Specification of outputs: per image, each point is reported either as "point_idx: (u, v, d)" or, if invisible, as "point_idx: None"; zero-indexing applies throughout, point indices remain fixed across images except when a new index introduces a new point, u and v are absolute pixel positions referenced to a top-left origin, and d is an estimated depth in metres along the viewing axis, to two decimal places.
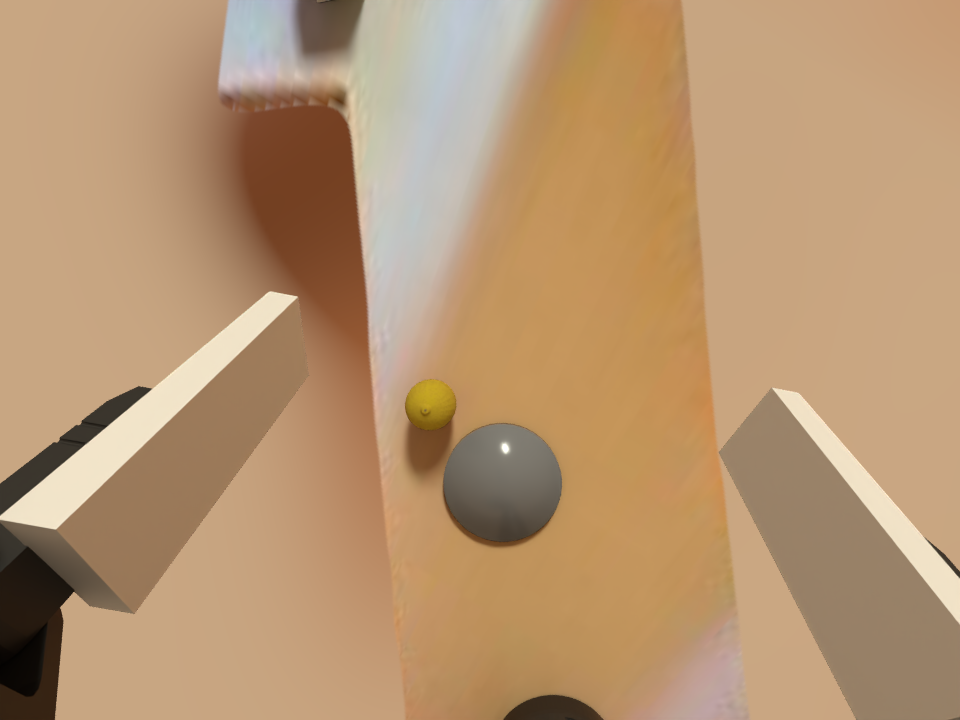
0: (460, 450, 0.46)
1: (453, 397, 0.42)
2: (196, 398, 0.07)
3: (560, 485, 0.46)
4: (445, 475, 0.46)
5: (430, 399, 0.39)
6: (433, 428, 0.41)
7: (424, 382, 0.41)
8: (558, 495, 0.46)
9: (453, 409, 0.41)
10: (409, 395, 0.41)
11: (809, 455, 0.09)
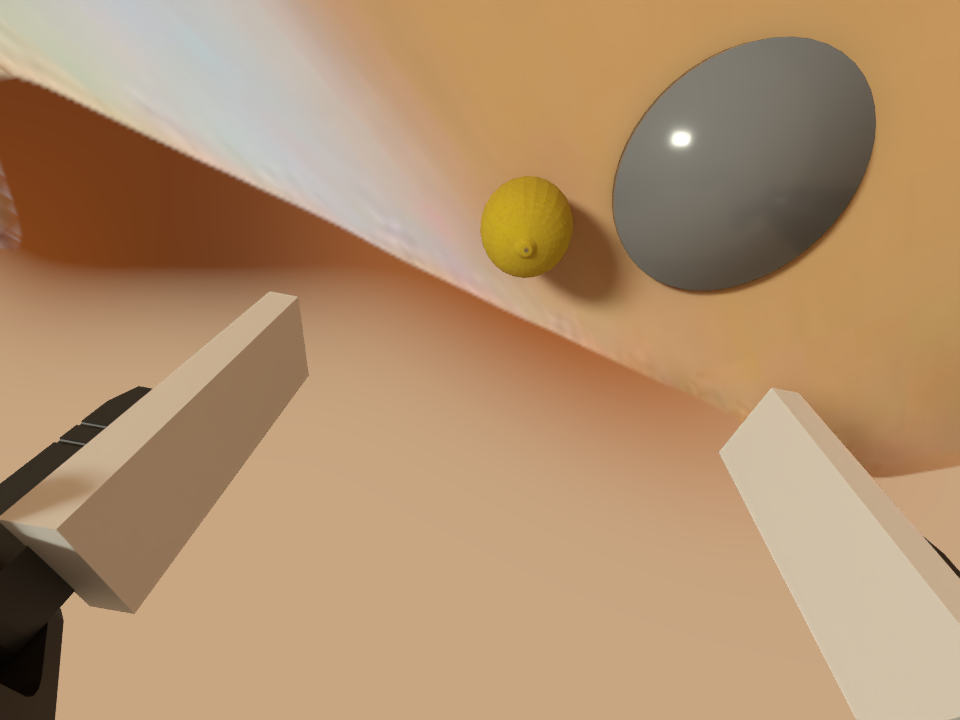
0: (627, 222, 0.25)
1: (539, 183, 0.21)
2: (196, 398, 0.07)
3: (850, 65, 0.20)
4: (642, 267, 0.27)
5: (515, 228, 0.20)
6: (564, 251, 0.22)
7: (484, 218, 0.22)
8: (861, 84, 0.20)
9: (558, 196, 0.21)
10: (489, 256, 0.23)
11: (809, 455, 0.09)
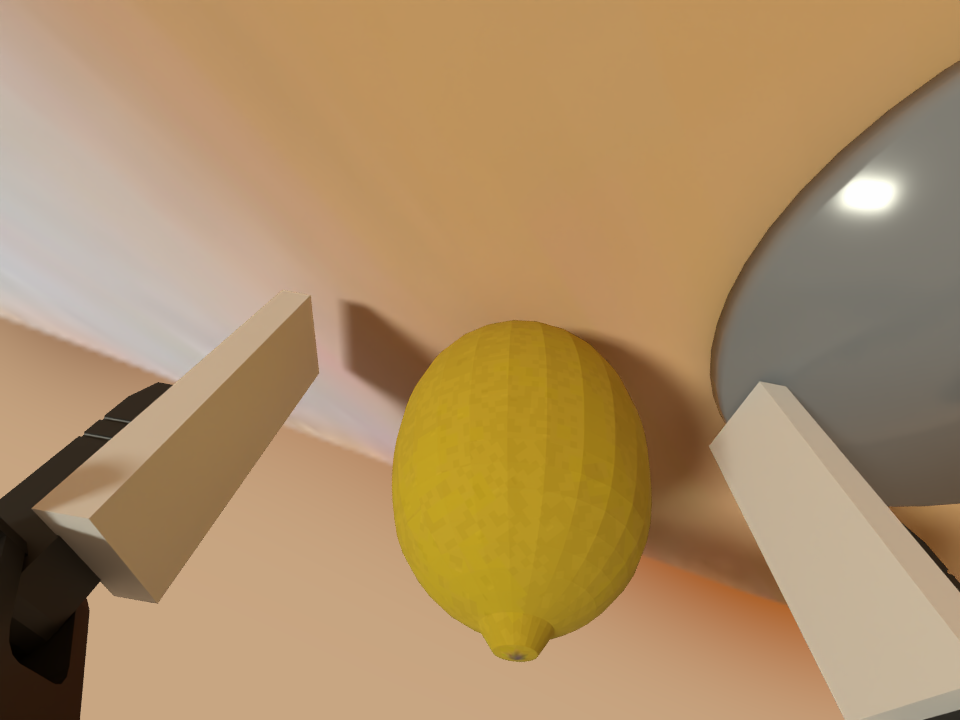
0: None
1: (555, 383, 0.07)
2: (216, 393, 0.07)
3: None
4: None
5: (477, 581, 0.06)
6: None
7: (395, 462, 0.08)
8: None
9: (617, 430, 0.07)
10: None
11: (794, 447, 0.09)
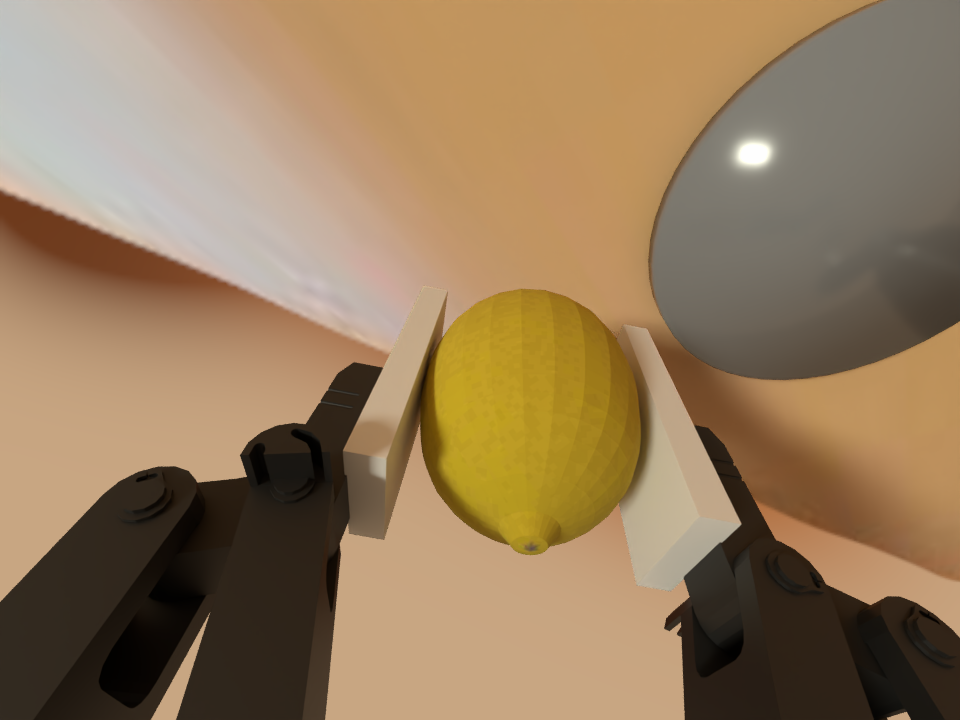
0: (673, 287, 0.16)
1: (561, 333, 0.08)
2: (418, 370, 0.09)
3: None
4: (691, 348, 0.18)
5: (499, 486, 0.07)
6: None
7: (423, 405, 0.09)
8: None
9: (612, 371, 0.08)
10: None
11: (634, 373, 0.10)
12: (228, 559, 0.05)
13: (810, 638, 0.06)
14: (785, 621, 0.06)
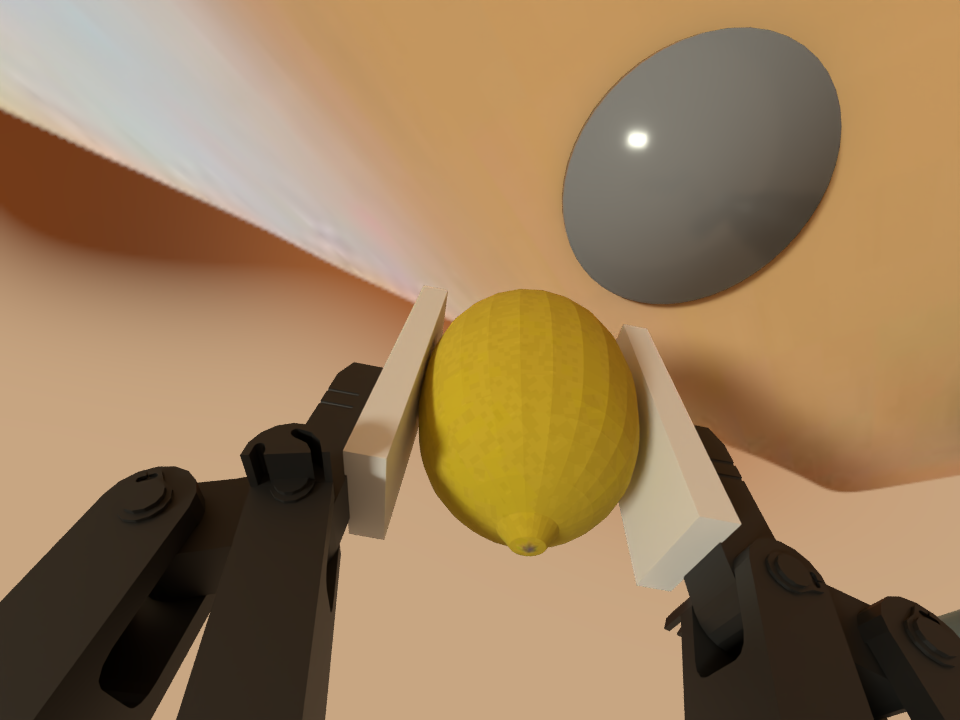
0: (577, 230, 0.23)
1: (559, 333, 0.08)
2: (418, 370, 0.09)
3: (814, 61, 0.18)
4: (596, 278, 0.25)
5: (497, 487, 0.07)
6: None
7: (422, 405, 0.09)
8: (825, 83, 0.18)
9: (610, 372, 0.08)
10: None
11: (634, 373, 0.10)
12: (228, 559, 0.05)
13: (810, 638, 0.06)
14: (785, 621, 0.06)
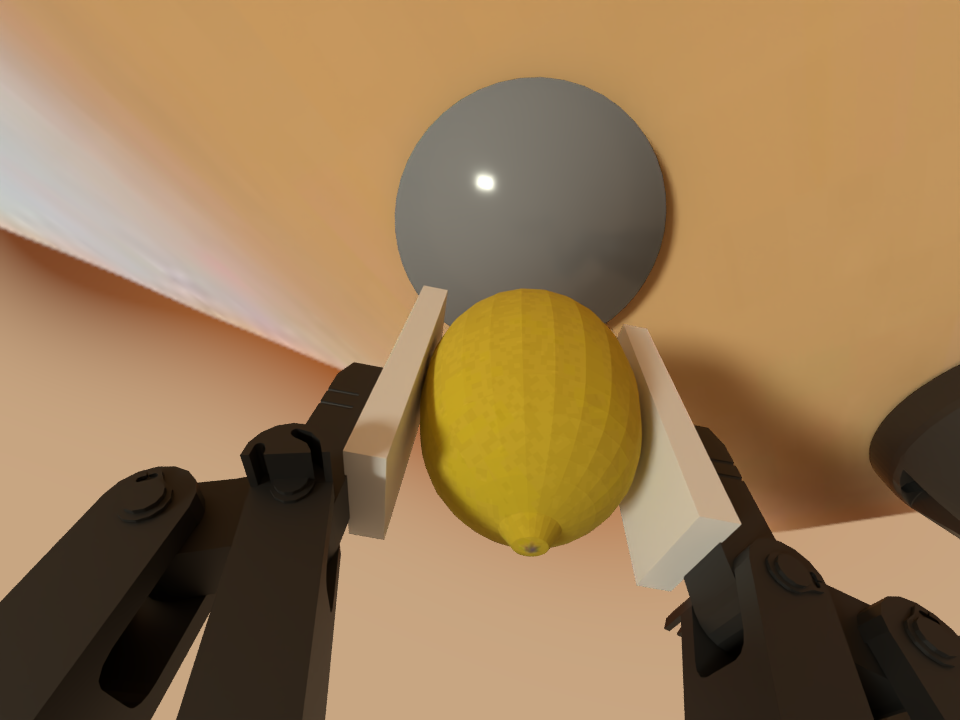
0: (420, 277, 0.22)
1: (561, 332, 0.08)
2: (418, 370, 0.09)
3: (616, 110, 0.17)
4: (451, 324, 0.24)
5: (499, 487, 0.07)
6: None
7: (423, 405, 0.09)
8: (634, 131, 0.17)
9: (613, 371, 0.08)
10: None
11: (634, 373, 0.10)
12: (228, 559, 0.05)
13: (810, 639, 0.06)
14: (785, 621, 0.06)
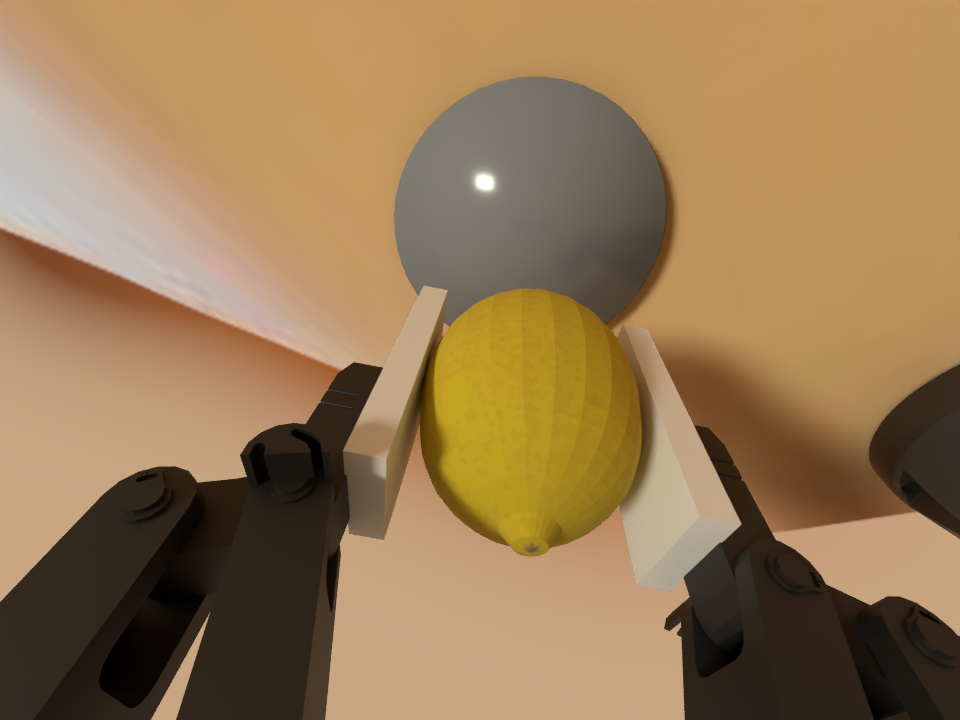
0: (419, 277, 0.22)
1: (561, 332, 0.08)
2: (417, 370, 0.09)
3: (616, 110, 0.17)
4: (451, 324, 0.24)
5: (499, 487, 0.07)
6: None
7: (423, 405, 0.09)
8: (634, 131, 0.17)
9: (613, 371, 0.08)
10: None
11: (634, 373, 0.10)
12: (228, 559, 0.05)
13: (810, 638, 0.06)
14: (785, 621, 0.06)
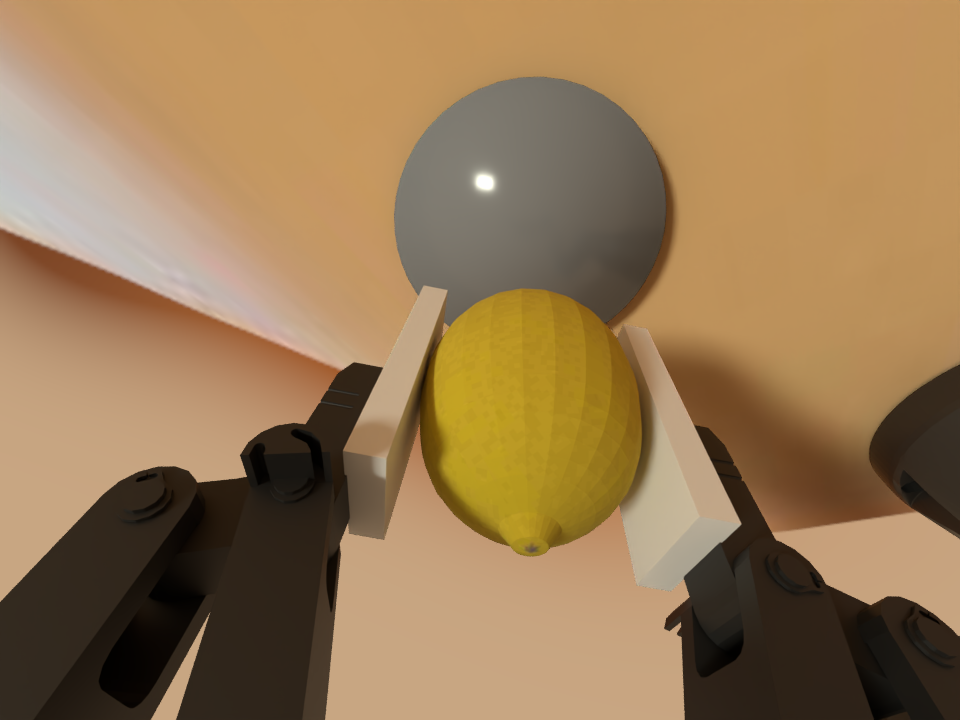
0: (419, 277, 0.22)
1: (561, 332, 0.08)
2: (417, 370, 0.09)
3: (616, 110, 0.17)
4: (451, 324, 0.24)
5: (499, 487, 0.07)
6: None
7: (423, 405, 0.09)
8: (634, 131, 0.17)
9: (613, 371, 0.08)
10: None
11: (634, 373, 0.10)
12: (228, 559, 0.05)
13: (810, 638, 0.06)
14: (785, 621, 0.06)
